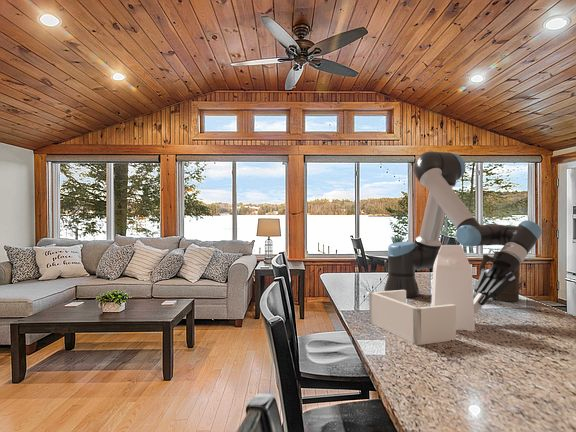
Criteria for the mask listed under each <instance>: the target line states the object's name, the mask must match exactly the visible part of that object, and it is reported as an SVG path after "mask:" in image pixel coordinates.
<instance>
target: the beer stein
mask: <svg viewBox="0 0 576 432" xmlns="http://www.w3.org/2000/svg"><path fill="white" fill-rule="evenodd" d="M498 253H500V251H494V253H493V256H490V255H488V254H483V255H482V260H481V262H480V265H479V273H480V274H479V276H480V275H481V270H482V269H484V270H486V265H487V264H488V263H489V262H491V263H492V264H493V263H494V259H495V257H496V256H497V255H498ZM513 275H514V277H515V278H516V280H515V281H514V282H512V283H510V284H509V285H508V286H507V287H506V288H505V289H504V290H503V291H502V292H501V293H500V294H499V295H498V296H497V297H496V298H494V300H497V301H504V302H515V303H516V302H519V301H520V296H519V294H520V266H519V267H518V269H517V270H516V272H515V273H513Z"/></svg>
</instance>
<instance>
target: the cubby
mask: <svg viewBox="0 0 576 432" xmlns="http://www.w3.org/2000/svg"><path fill="white" fill-rule="evenodd" d="M368 299H369V300H368V301H369V303H368V304H369V305H368V306H369V307H368V308H369V309H368V310H369V323H371V324H372V325H374V326H376V327H379V328H381V329H382V330H385V331H387V332H389V333H390V334H393V335H395V336H397V337H399V338H401V339H402V340H405V341H407V342H409V343H411V344H413V345H414V346H415V345H416V346H421V345H428V344H437V343H443V342H451V340H452V341H457V330H456V305H454V304H448V305H438V306H431V305H430V306H419V307H417V306H414V305H411V304H409V303H407V297H406V290H394V291H384V290H382V291H370V292H369V297H368Z"/></svg>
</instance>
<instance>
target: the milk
mask: <svg viewBox="0 0 576 432" xmlns="http://www.w3.org/2000/svg"><path fill="white" fill-rule="evenodd" d="M472 271H473V270H472V267H471V264H470V262H469V260H468V257H467V254H466V252H465V250H464V248H463V245H461V244H460V245H459V244H442V245H441V247H440V250H439V252H438V254H437V257H436V259H435V262H434V266H433V268H432V283H431V284H432V285H431V303H430V304H431V305H430V306H438V305H448V304H454V305H456V331H463V330H467V331H466V332H476V325H475V324H476V323H475V322H476V321H475V314H474V300H473V298H474V285H473V284H474V283H473V272H472Z"/></svg>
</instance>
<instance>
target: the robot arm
mask: <svg viewBox="0 0 576 432" xmlns="http://www.w3.org/2000/svg"><path fill="white" fill-rule="evenodd" d="M413 171H414V174H415V177H416V179H417V180H418V182H419V184H420V185H422V186H425V188H426V189H427V190H428V195H427V200H426V205H425V209H424V213H423V218H422V223H421V228H420V232H419V235H418V236H416V237H415V239H414V241H398V242H393V243H391V244H389V245H388V249H387V264H388V265H387V268H388V269H387V279H386V283H385V285H384V288H383V289H384V290H383V291H394V290H406V298H414V297H418V296H420V289H419V286H418V282H417V280H416V271H417V270H418V271H419V270H431V269H432V270H433V266H434V262H435V259H436V257H437V254H438V252H439V250H440V247H441V245H443V244H442V242H441V241H440V237H441V232H442V228H443V225H444V219H445V215H446V217H447V218H448V219H449V221H450V223H452V225H453V226H454V228H455V229H456V231H455V236H456V241H457V243H459V244H460V245H461V246H462V247H479V246H480V247H481V246H503V247H501V249H500V250H499V252H500V253H498V255H497V256H496V257H495V259H494V263H493V262H492V264H491V266H489V268H488V269H485V270H484V269H482V270H481V275H480V274H479V277H478V280H477V281H476V283H475V286H474V287H473V292H475V293H476V294H475V296H473V300H474V315H477V313H478V312H479V310H480V309H481V308H482V306H485V304H486V303H487V301H488V300H489V299H494V298H496V297H497V296H498V295H499V294H500V293H501V292H502V291H503V290H504V289H505V288H506V287H507V286H508V285H509V284H510V283H512V282H514V281H515V280H516V278H515V277H514V275H513V273H515V272H516V270H517V269H518V267H519V268H520V266H521V264H522V263H523V262H524V261H525V259H526V257H528V254H529V253H530V251H531V250H532V249H533V247H534V246H535V245H536V244H537V242H538V241H539V239H540V237H541V236H542V234H543V230H542V228H541V226H540V225H539V224H538V223H536V222H535V221H532V220H528V219H527V220H523V221H520V223H519V224H518V225H517V226H515V225H505V224H498V223H486V224H480V223H479V221H478V220H477V219H476V218H475V217H474V215H473V214H472V213H471V211H470V210H469V208H468V207H467V206H466V204H464V202H463V201H462V199H461V198H460V197H459V196H458V194H457V193H456V191H454V189H453V188H454V187H456V184H457V181H458V180H460V179H461V178H462V177H463V176H464V174H465V172H466V164H465V160H464V159H463V157H462V156H461V155H459V154H458V153H454V152H453V153H452V152H449V151H448V152H445V151H443V152H442V151H432V150H431V151H425V152H423V153H421V154H420V155H418V157H417V158H416V160H415V162H414V164H413ZM494 300H495V299H494Z"/></svg>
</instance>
